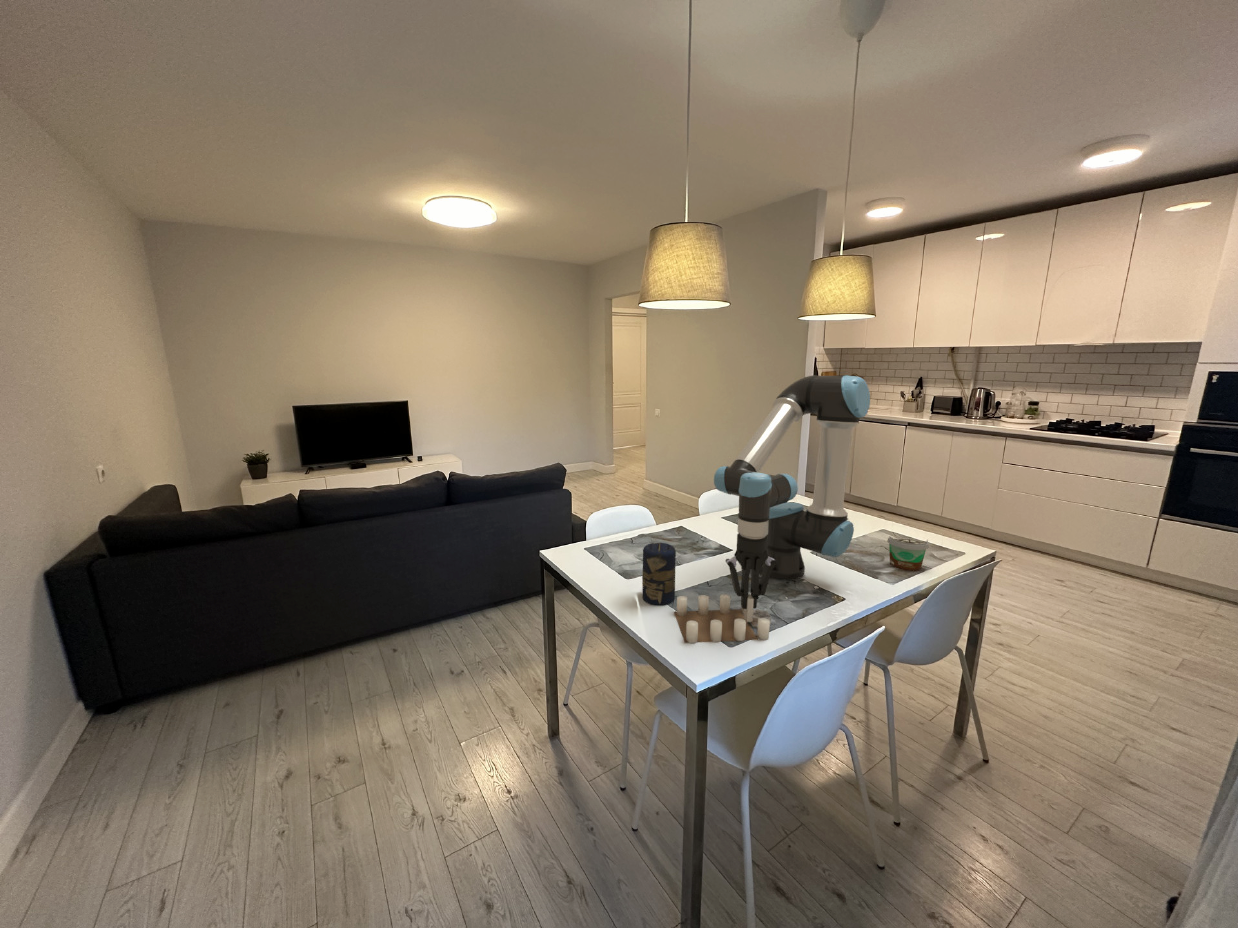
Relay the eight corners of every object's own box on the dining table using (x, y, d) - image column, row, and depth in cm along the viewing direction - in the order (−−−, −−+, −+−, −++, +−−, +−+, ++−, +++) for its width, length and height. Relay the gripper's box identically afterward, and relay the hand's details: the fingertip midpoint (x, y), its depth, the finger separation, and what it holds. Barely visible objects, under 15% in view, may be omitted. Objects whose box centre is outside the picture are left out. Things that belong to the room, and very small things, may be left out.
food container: (887, 569, 161) (890, 541, 159) (884, 562, 166) (887, 535, 164) (930, 574, 156) (934, 546, 154) (925, 567, 162) (929, 539, 160)
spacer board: (765, 612, 134) (765, 608, 134) (787, 642, 119) (787, 637, 119) (673, 615, 132) (673, 611, 132) (684, 646, 117) (684, 642, 117)
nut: (764, 617, 129) (765, 608, 128) (772, 628, 123) (773, 619, 123) (747, 618, 128) (747, 609, 128) (754, 629, 123) (754, 620, 122)
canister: (637, 606, 138) (638, 547, 134) (647, 591, 146) (648, 536, 143) (670, 611, 134) (671, 551, 131) (678, 596, 143) (679, 540, 139)
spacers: (749, 608, 134) (750, 593, 133) (770, 640, 118) (771, 623, 117) (675, 611, 132) (676, 596, 131) (687, 643, 117) (687, 626, 116)
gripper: (772, 528, 125) (766, 611, 130) (723, 529, 124) (719, 612, 129) (783, 538, 117) (777, 625, 122) (731, 540, 117) (727, 627, 121)
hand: (747, 619), depth 125 cm, fingers closed
